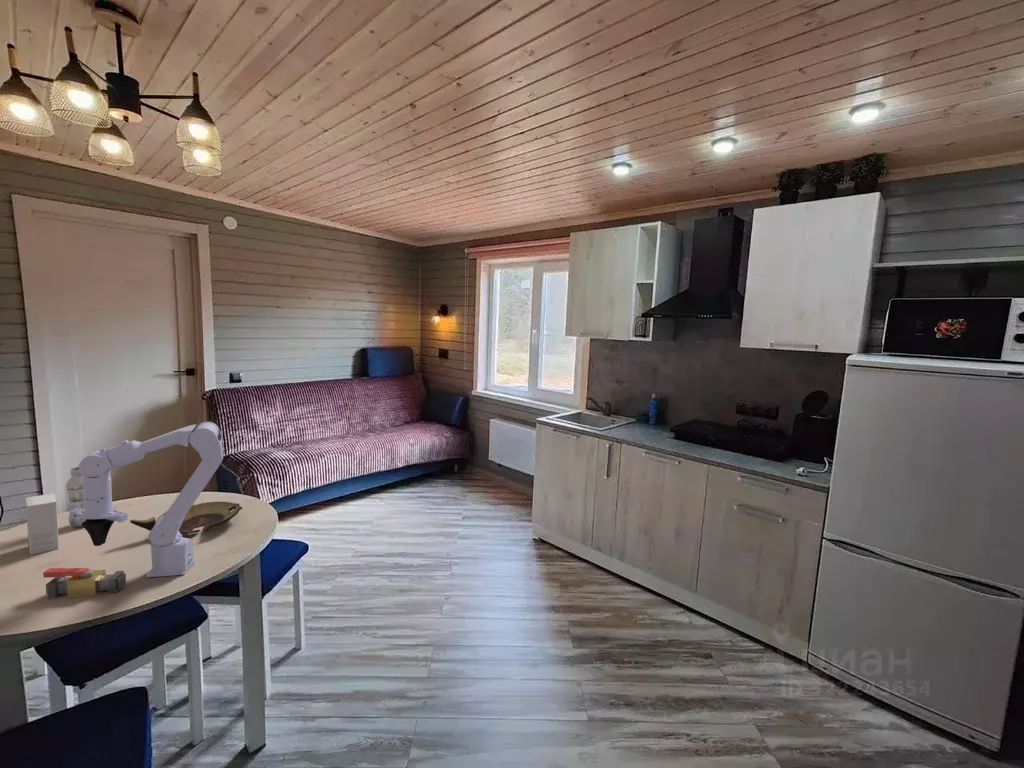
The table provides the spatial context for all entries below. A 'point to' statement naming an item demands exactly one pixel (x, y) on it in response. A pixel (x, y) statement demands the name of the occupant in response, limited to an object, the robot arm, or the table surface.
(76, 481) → the plastic bottle
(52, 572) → the lever
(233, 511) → the olive brown leaf dish
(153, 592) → the table surface
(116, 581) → the pipe valve
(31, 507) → the skincare box
